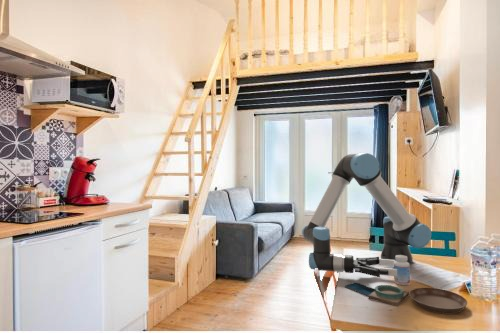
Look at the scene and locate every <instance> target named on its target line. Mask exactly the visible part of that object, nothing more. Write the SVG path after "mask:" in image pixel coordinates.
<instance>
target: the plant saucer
mask: <svg viewBox="0 0 500 333" xmlns="http://www.w3.org/2000/svg"><path fill="white" fill-rule="evenodd" d="M409 297H410V298H411V299H412V301H413V303H415V304H416V305H417V306H418V307H419V308H422V309H423V310H427V311H430V312H433V313H438V314H447V315H449V314H459V313H460V312H462V311H463V310H465V308H466V307H467V305H468V301H467V299H466V298H465V297H464V296H463V295H461V294H459V293H456V292H454V291H450V290H447V289H443V288H437V287H436V288H435V287H417V288H413V289H411V290H410V291H409Z"/></svg>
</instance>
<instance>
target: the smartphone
mask: <svg viewBox="0 0 500 333" xmlns="http://www.w3.org/2000/svg"><path fill="white" fill-rule="evenodd" d="M344 288H345V289H348V290H350V291H352V292H355V293H358V294H360V295H362V296H365V297H367V298H368V295H370V294H371V293H372V292H374V291H375V288H372V287H370V286H367V285H364V284H362V283H359V282H351V283H348V284H345V285H344Z"/></svg>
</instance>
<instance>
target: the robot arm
mask: <svg viewBox="0 0 500 333" xmlns="http://www.w3.org/2000/svg"><path fill="white" fill-rule="evenodd" d="M381 175H382V170H381V169H380V162H379V160H378V158H377V157H376V156H375V155H373V154H371V153H369V152H368V153H367V152H359V153H351V154H347V155H345V156H343V157H342V158H341V159H340V161H339V162H338V163H337V165H336V166H335V168H334V170H333V172H332V174H331V177H332V178H331V181H329V184H328V185H327V186H328V187H327V188H326V190H325V192H324V193H323V196H322V198H321V200H320V202H319V203H318V205H317V208H316V210H315V212H314V214H313V215H312V217H311V219H310V221H309V223H308V224H307V225H305V226H303V228H302V231H301V234H302V237H303V239H304V240H306V241H307V242H309V243H311V244H312V245H313V250H312V251H313V252H310V253H309V255H308V266H309V268H310V269H311V270H315V268H318V270H317V271H324V272H325V271H326V272H336V273H337V274H339V273H347V274H353V273H359V274H364V275H368V276H373V277H376V278H380V277H381V276H388V277H389V276H390V277H394V276H397V269H394V268H386V267H394V262H395V261H396V259H395V256H396V255H404V256H407V259H408V260H407V262H408V263H409V265H410V264H413V262H414V260H413V255H412V253H411V249H410V247H411V248H416V249H423V248H426V246H427V245H429V243H430V241H431V237H432V230H431V228H430V227H429V226H428V225H427V224H425V223H421V221H419V219H418V218H417V217H416V215H415V214H413V213H410V212H408V210H407V209H406V207H405V206H404V205H403V203H402V202H401V201H400V200H399V198H398V197H397V196H396V194H395V193H394V192H393V190H392V189H391V188H390V186H388V184H387V182H386V181H385V180H384V179H383V177H382V176H381ZM353 179H354V180H355V182H357V184H358V185H359V186H360V187H364V188H365V189H366V190H367V191H368V192H369V193H370V195H371V197H372V198H373V199H374V200H375V202H376V203H377V204H378V206H379V207H380V208H381V209H382V210H383V212H384V213H385V215H386V216H385V217H383V220H382V222H383V223H382V225H383V229H382V230H383V246H382V250H381V252H380V257H379V256H374V257H356V258H355V259H354V256H353V255H351V254H350V255H349V254H345V255H344V254H334V253H331V234H330V232H331V231H330V228H328V226H327V227H326V225H327V223H328V221H329V220H330V217H331V215H332V213H333V211H334V210H335V208H336V206H337V203H338V201H339V200H340V198H341V195H342V194H343V192H344V191H345V189H346V186H347V185H350V184H351V182H352V180H353ZM376 265H379V266H384V267H379V268H378V267H375V266H376ZM385 266H386V267H385Z"/></svg>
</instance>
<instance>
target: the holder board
mask: <svg viewBox="0 0 500 333" xmlns="http://www.w3.org/2000/svg"><path fill="white" fill-rule="evenodd" d="M374 289H375V291H374V292H372V293H371V294H370V295H368V297H367V298H368V299H369V300H373V301H376V302H379V303H380V302H381V303H384V304H387V305H391V306H395V307H399V306H400V304H402V302H404V301H405V300H406V298H408V297H410V295H409V293H410V291H407V290H403V289H402V288H400V287H398V286H395V285H391V284H379V285H376V286H375V287H374Z"/></svg>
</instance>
